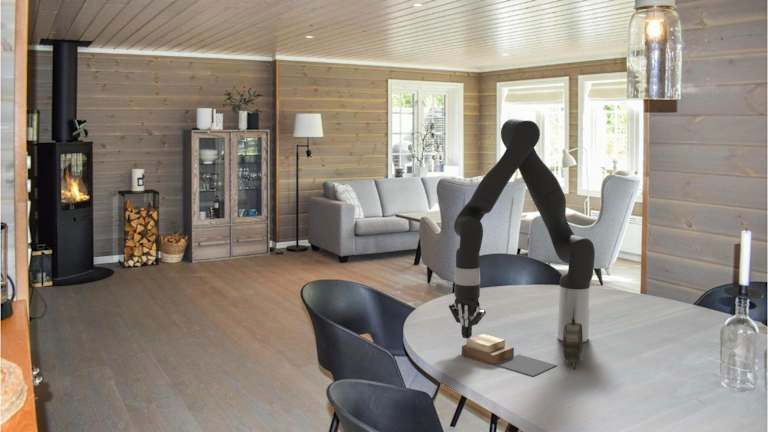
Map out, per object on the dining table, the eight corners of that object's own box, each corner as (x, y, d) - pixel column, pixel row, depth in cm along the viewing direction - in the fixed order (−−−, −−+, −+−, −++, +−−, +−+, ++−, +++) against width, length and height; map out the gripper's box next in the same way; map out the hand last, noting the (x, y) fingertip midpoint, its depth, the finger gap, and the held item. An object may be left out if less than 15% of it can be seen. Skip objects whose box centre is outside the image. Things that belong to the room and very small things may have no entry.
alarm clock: (579, 371, 194) (581, 314, 192) (559, 369, 196) (561, 312, 194) (582, 359, 204) (585, 305, 202) (563, 357, 206) (565, 303, 204)
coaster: (483, 340, 212) (483, 333, 212) (504, 346, 207) (505, 339, 206) (466, 346, 207) (466, 339, 206) (488, 352, 201) (488, 345, 201)
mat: (518, 355, 208) (518, 354, 208) (557, 366, 199) (557, 365, 199) (494, 365, 199) (494, 364, 199) (533, 376, 190) (533, 375, 190)
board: (482, 348, 214) (482, 338, 214) (513, 357, 206) (513, 347, 206) (461, 355, 207) (461, 346, 207) (493, 365, 199) (493, 355, 199)
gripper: (492, 283, 207) (491, 339, 210) (458, 276, 217) (457, 330, 219) (477, 287, 202) (476, 345, 205) (442, 280, 212) (441, 335, 214)
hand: (466, 337), depth 212 cm, fingers closed
